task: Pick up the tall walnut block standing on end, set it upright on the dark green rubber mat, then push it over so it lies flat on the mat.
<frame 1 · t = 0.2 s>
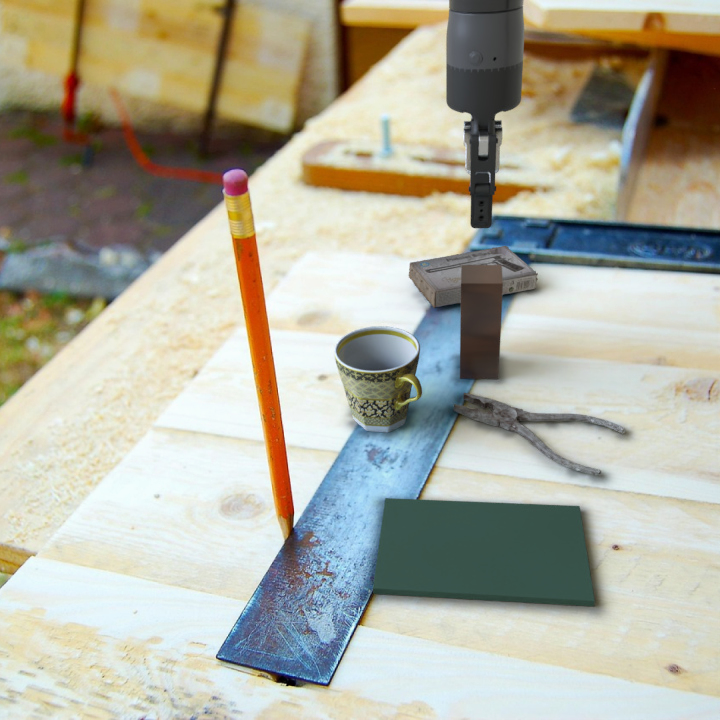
hand: (480, 211, 84), 24 cm above the workbench, tool pointing down, fingers open, 8 cm apart
box: (471, 287, 121), on the workbench
walnut block: (479, 368, 102), on the workbench
pliers: (531, 436, 89), on the workbench
ceramic cup: (388, 423, 93), on the workbench
rubber mat: (481, 550, 75), on the workbench
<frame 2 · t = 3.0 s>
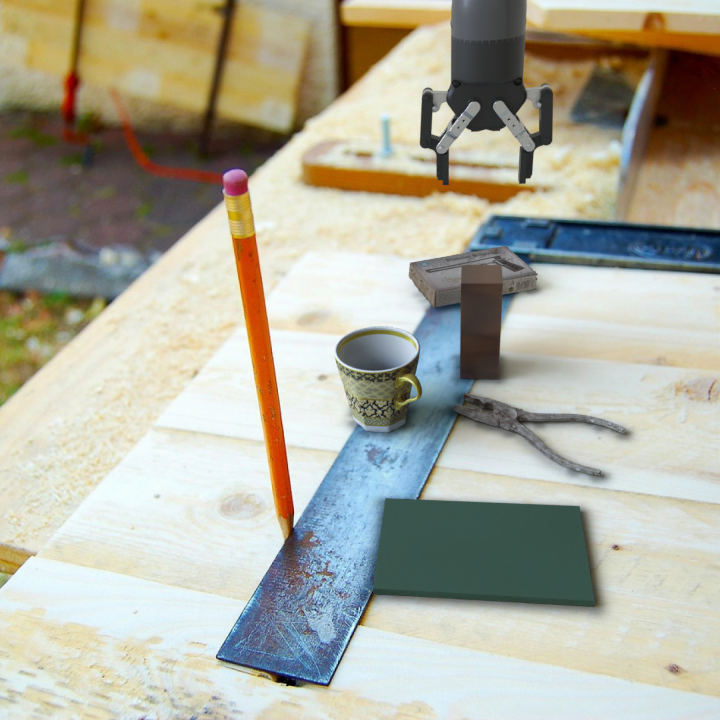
hand: (483, 182, 87), 26 cm above the workbench, tool pointing down, fingers open, 8 cm apart
nothing on the workbench moved.
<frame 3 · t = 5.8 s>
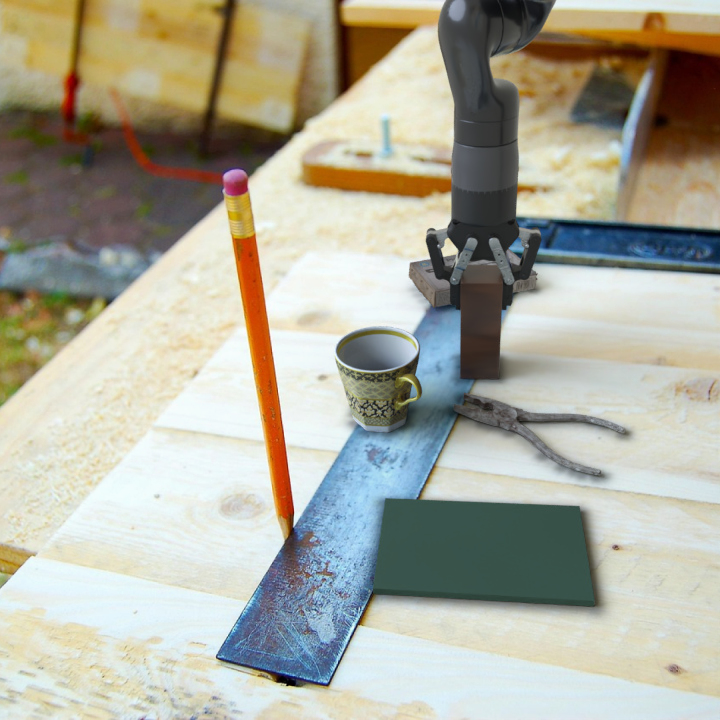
hand: (481, 306, 96), 9 cm above the workbench, tool pointing down, fingers closed on walnut block, 5 cm apart
walnut block: (479, 368, 101), on the workbench, touching gripper
everything else where it was.
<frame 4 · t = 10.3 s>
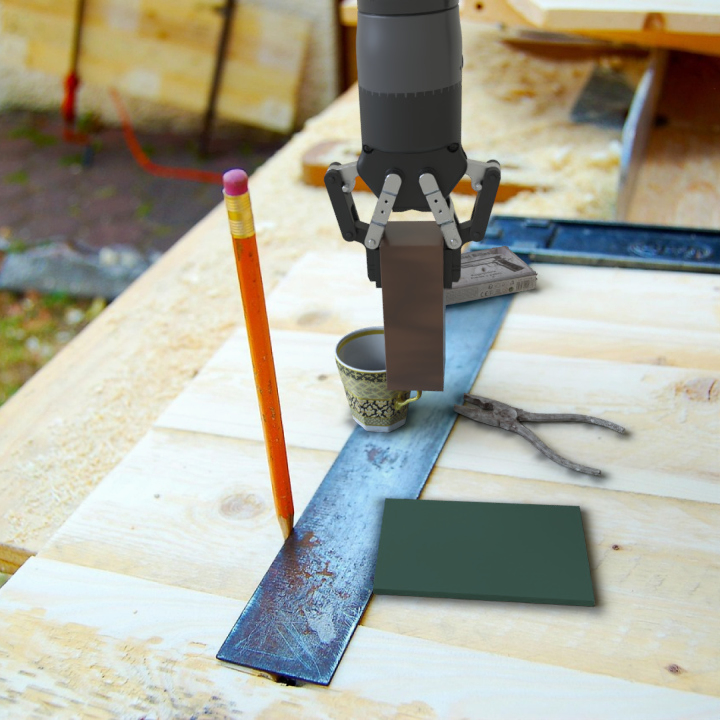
hand: (414, 283, 64), 27 cm above the workbench, tool pointing down, fingers closed on walnut block, 5 cm apart
walnut block: (416, 375, 70), point 18 cm above the workbench, touching gripper
everything else where it was.
when the fingers open (10 cm above the workbench, at t = 14.9 s): walnut block stays where it is, resting on rubber mat.
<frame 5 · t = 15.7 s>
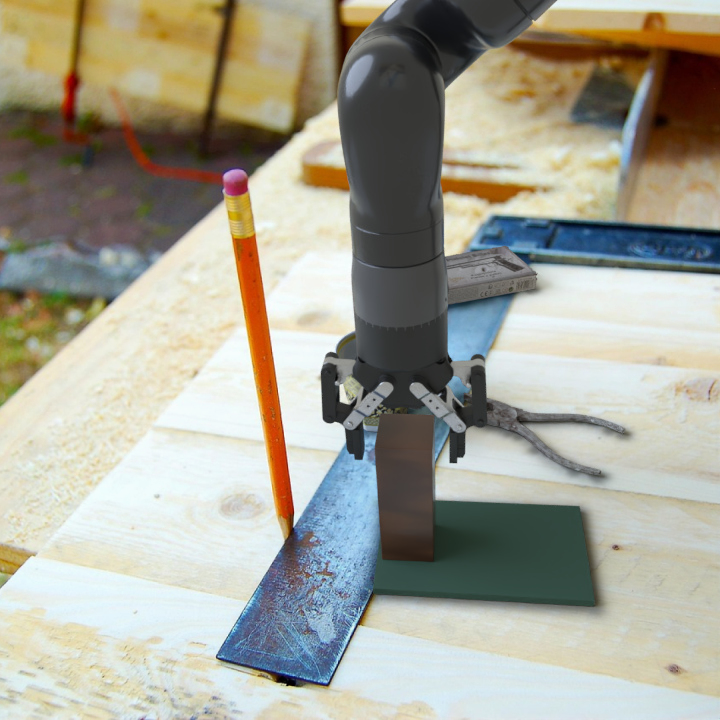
hand: (406, 455, 70), 12 cm above the workbench, tool pointing down, fingers open, 8 cm apart
walnut block: (409, 541, 76), point 1 cm above the workbench, touching rubber mat
everything else where it was.
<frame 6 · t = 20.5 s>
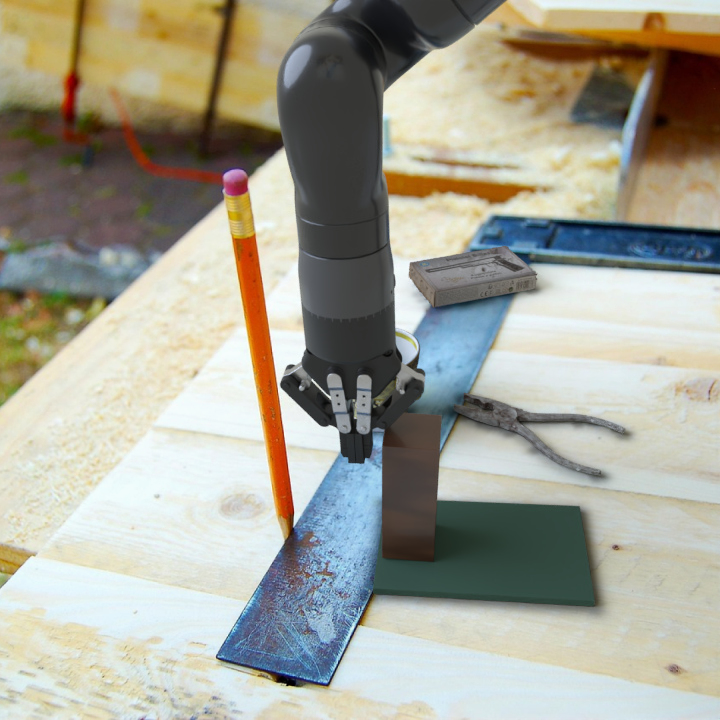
hand: (358, 457, 70), 11 cm above the workbench, tool pointing down, fingers closed
nothing on the workbench moved.
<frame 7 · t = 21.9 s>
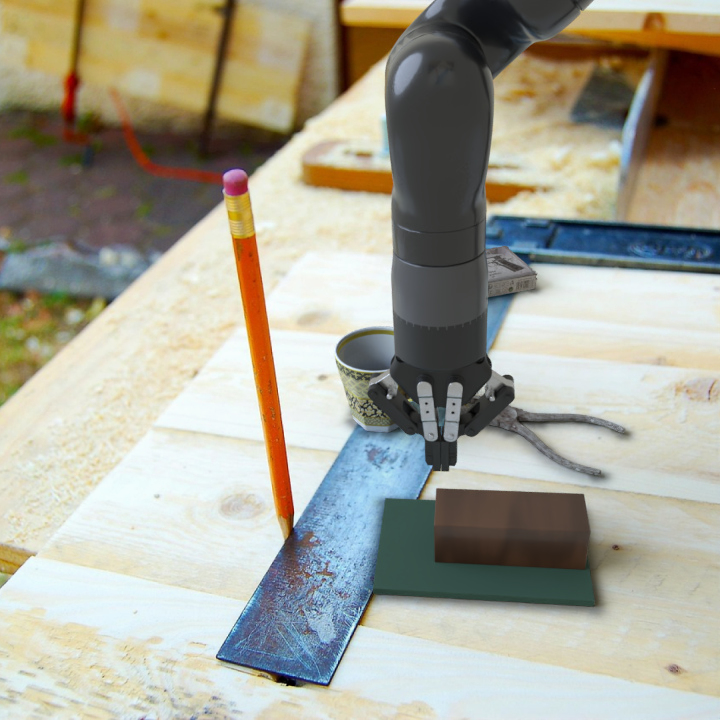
hand: (441, 465, 70), 11 cm above the workbench, tool pointing down, fingers closed
walnut block: (435, 524, 74), point 3 cm above the workbench, tilted 90°, touching rubber mat
everything else where it was.
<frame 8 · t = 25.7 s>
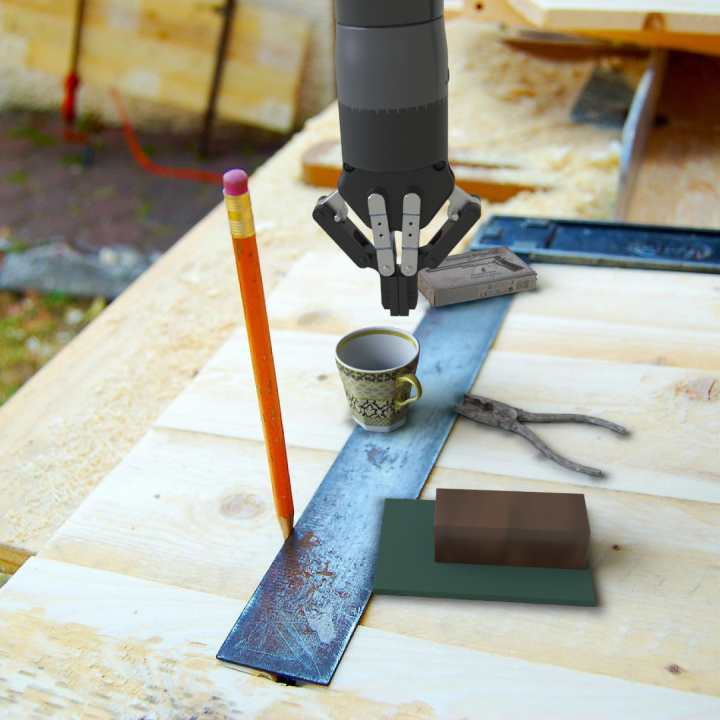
hand: (400, 311, 61), 27 cm above the workbench, tool pointing down, fingers closed
nothing on the workbench moved.
at the end: walnut block tilted 90°; walnut block inside the target area on the rubber mat (4.4 cm from its centre), point 3.3 cm above the rubber mat's base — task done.
